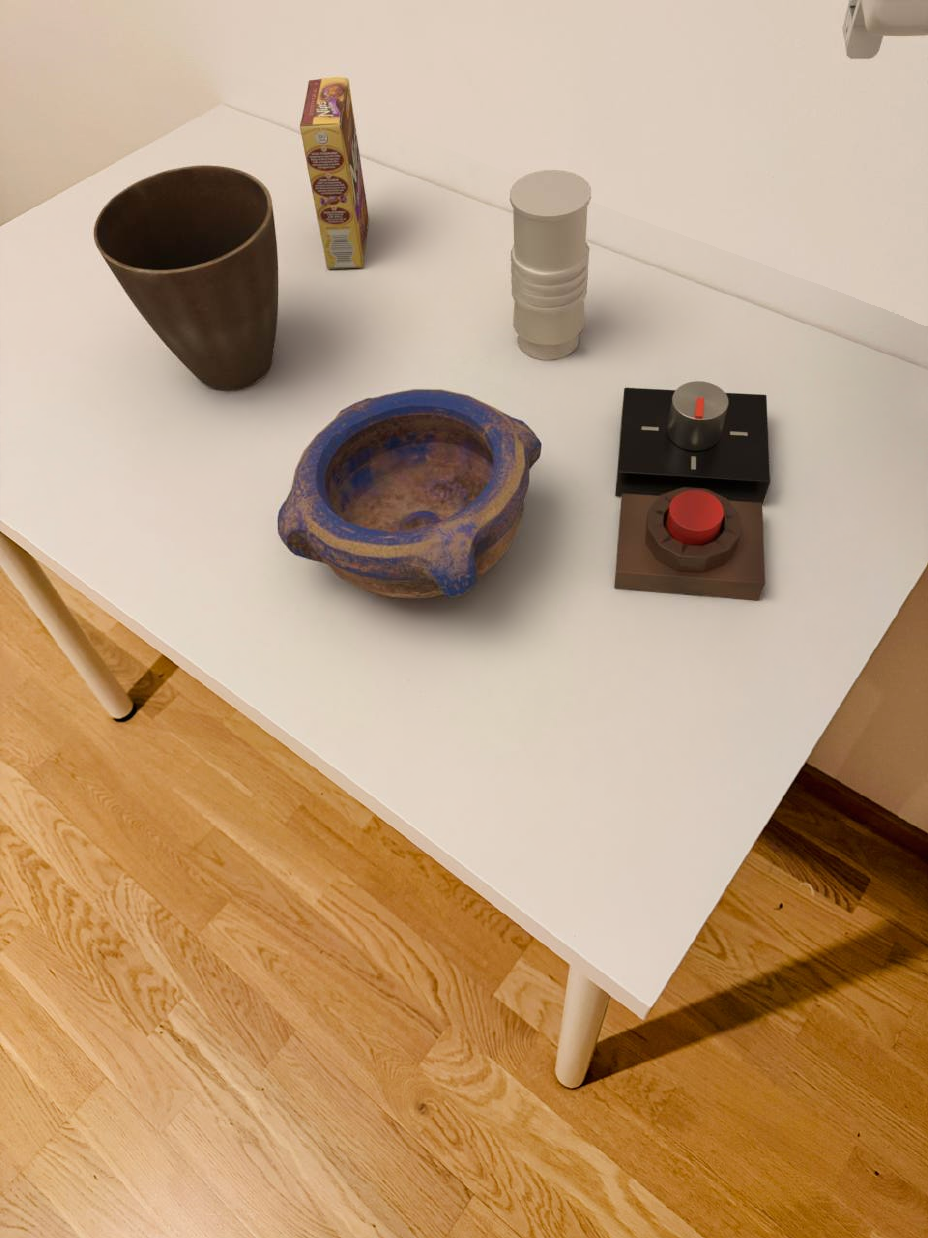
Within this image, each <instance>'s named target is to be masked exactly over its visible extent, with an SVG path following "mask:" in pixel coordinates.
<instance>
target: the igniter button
mask: <svg viewBox="0 0 928 1238" xmlns="http://www.w3.org/2000/svg"><path fill="white" fill-rule="evenodd" d="M723 516H724V509H723V506H722V504H721V502H720V501H719V500H718V499H717V498H716V497H715V496H713V495H712V494H710V493H708V492H705V491H700V490H689V491H685V492H682V493H680V494H678V495H677V496H675V497H674V498H673V500H672V501H671V503H670V506H669V512H668V517H667V528H668V530H669V532H670V534H671V535H672V536H673V537H674V538H675V539H677V540H678V541H680V542H682V543H685V544H689V545H702V544H706V543H708V542H710V541H712V540H713V539H714V538H715V537H716V536H717V535H718V533H719V531H720V527H721V523H722V520H723Z"/></svg>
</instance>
